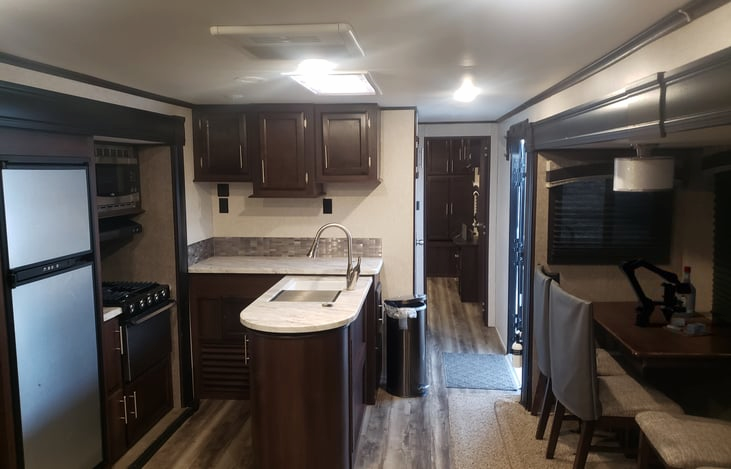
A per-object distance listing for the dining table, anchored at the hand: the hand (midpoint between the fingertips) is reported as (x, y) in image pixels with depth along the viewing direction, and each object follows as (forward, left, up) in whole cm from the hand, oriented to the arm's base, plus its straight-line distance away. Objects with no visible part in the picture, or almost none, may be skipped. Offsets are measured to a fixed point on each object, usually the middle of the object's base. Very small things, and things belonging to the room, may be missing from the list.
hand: (668, 321), depth 300 cm
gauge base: (-1, -12, -3) cm, 12 cm away
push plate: (-2, -6, -1) cm, 7 cm away
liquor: (+29, +15, -3) cm, 33 cm away
